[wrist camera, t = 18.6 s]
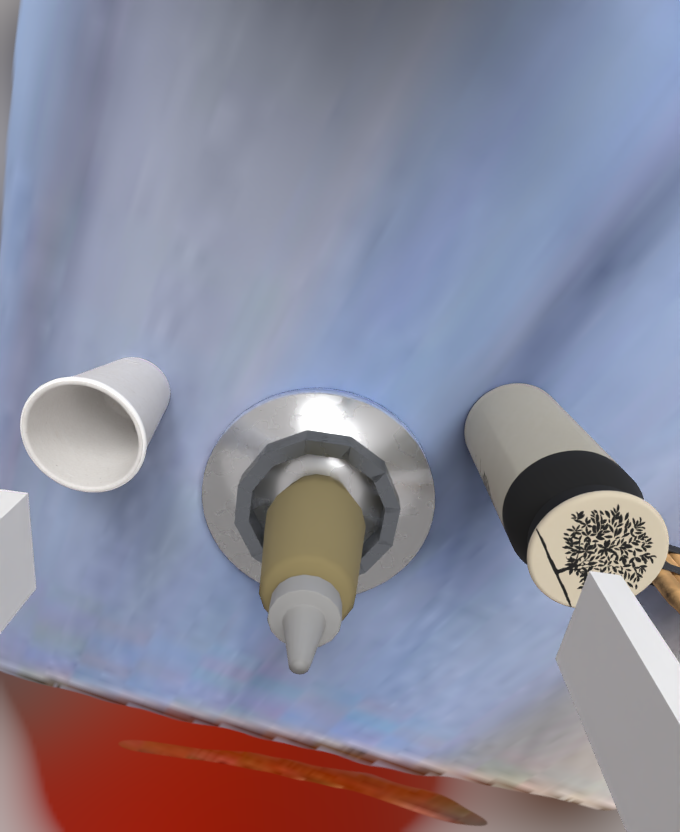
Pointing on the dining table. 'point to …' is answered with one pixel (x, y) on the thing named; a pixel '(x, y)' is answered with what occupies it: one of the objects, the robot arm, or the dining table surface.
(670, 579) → the ammunition clip
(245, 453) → the rosette plate
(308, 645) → the squeeze bottle
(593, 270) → the dining table surface
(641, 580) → the travel mug
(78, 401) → the dixie cup
